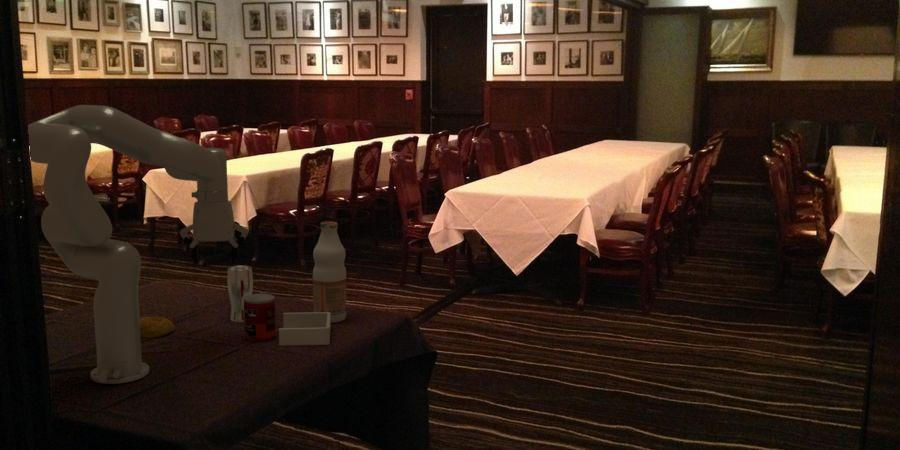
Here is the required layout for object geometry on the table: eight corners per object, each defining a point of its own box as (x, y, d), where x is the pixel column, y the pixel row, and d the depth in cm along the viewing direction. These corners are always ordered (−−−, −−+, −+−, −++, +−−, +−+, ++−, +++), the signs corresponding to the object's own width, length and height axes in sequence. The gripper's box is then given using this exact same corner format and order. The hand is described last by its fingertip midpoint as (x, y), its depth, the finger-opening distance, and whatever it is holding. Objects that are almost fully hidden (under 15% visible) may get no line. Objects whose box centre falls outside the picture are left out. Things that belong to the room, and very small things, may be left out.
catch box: (329, 344, 213) (329, 328, 212) (279, 345, 211) (278, 329, 211) (330, 327, 227) (330, 312, 226) (283, 328, 226) (283, 312, 225)
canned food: (242, 334, 220) (240, 295, 218) (271, 331, 223) (270, 292, 221) (247, 343, 213) (246, 302, 211) (278, 339, 216) (277, 299, 214)
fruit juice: (306, 320, 233) (305, 224, 228) (324, 312, 241) (323, 218, 236) (335, 325, 229) (334, 227, 224) (352, 316, 238) (352, 221, 232)
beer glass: (257, 316, 236) (255, 265, 233) (249, 323, 229) (247, 271, 227) (233, 315, 237) (232, 264, 234) (225, 322, 230) (223, 270, 227)
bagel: (177, 336, 218) (176, 319, 217) (133, 341, 213) (132, 324, 212) (171, 325, 227) (170, 309, 226) (129, 331, 222) (128, 314, 221)
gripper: (174, 199, 205) (178, 265, 208) (245, 198, 207) (247, 264, 210) (180, 194, 212) (184, 259, 216) (249, 194, 214) (251, 258, 218)
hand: (215, 261), depth 213 cm, fingers open, 9 cm apart
